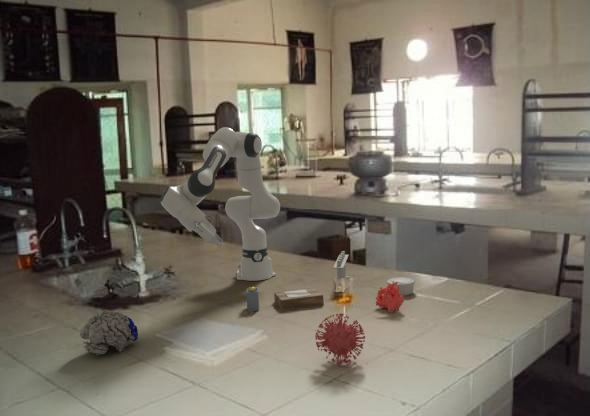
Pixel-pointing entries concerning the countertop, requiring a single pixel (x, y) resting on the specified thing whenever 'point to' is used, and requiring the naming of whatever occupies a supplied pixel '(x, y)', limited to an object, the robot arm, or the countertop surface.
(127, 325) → the educational model
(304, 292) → the dock
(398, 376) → the countertop surface
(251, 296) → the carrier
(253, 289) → the ball
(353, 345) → the virus model
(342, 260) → the test tube rack
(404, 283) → the ramekin
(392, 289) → the protein model
